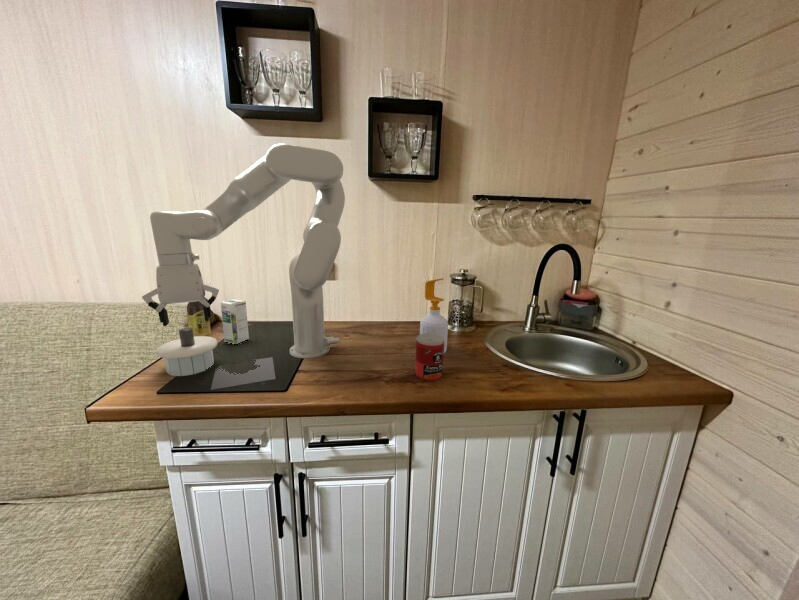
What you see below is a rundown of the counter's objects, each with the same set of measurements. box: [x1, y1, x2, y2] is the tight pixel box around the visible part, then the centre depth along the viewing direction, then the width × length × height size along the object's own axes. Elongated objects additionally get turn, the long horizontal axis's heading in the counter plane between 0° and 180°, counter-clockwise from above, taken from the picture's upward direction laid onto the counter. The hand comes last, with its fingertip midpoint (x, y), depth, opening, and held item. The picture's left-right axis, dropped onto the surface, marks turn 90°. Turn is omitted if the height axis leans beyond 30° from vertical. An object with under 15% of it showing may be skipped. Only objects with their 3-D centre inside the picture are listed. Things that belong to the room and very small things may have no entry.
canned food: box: [414, 333, 445, 382], centre depth 88 cm, size 8×8×11 cm
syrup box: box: [220, 299, 250, 345], centre depth 109 cm, size 6×6×14 cm
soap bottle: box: [419, 278, 449, 354], centre depth 104 cm, size 9×9×25 cm
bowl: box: [163, 349, 215, 377], centre depth 89 cm, size 11×11×6 cm
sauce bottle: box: [186, 301, 212, 337], centre depth 106 cm, size 6×6×20 cm
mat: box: [210, 356, 276, 391], centre depth 88 cm, size 15×15×1 cm
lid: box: [156, 327, 218, 359], centre depth 88 cm, size 14×14×6 cm
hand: (187, 322), depth 87 cm, fingers open, 9 cm apart
